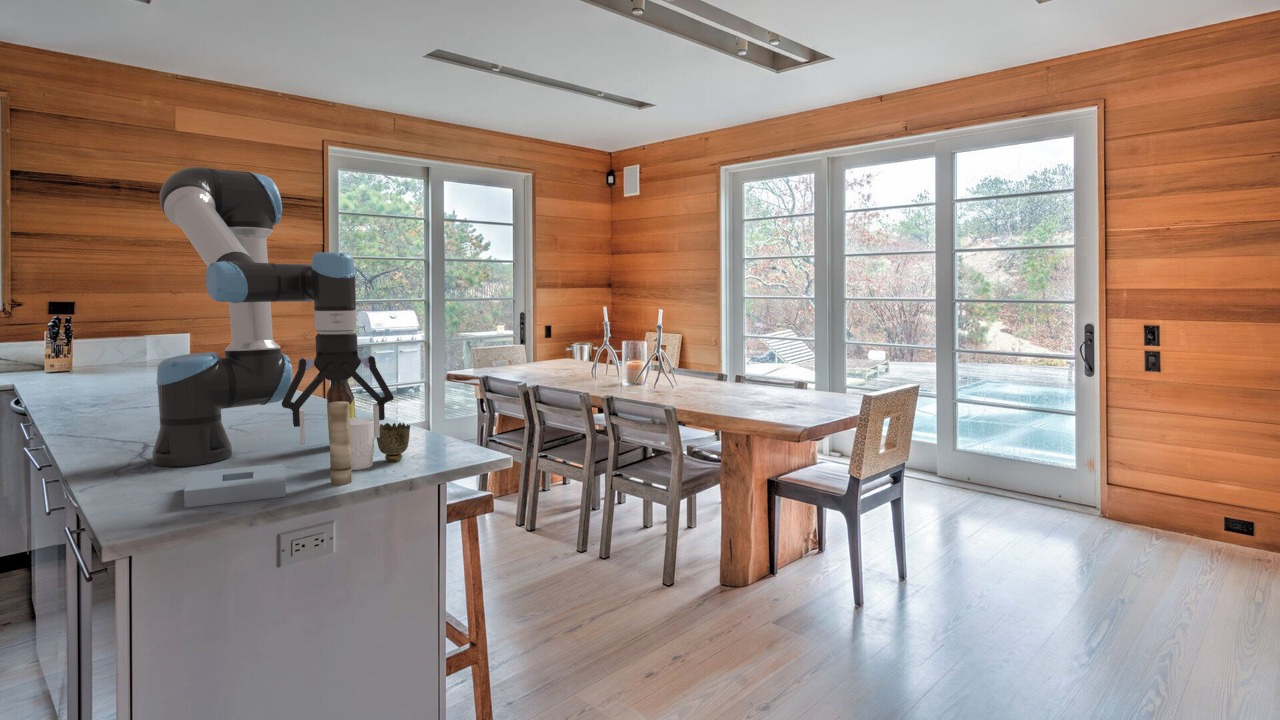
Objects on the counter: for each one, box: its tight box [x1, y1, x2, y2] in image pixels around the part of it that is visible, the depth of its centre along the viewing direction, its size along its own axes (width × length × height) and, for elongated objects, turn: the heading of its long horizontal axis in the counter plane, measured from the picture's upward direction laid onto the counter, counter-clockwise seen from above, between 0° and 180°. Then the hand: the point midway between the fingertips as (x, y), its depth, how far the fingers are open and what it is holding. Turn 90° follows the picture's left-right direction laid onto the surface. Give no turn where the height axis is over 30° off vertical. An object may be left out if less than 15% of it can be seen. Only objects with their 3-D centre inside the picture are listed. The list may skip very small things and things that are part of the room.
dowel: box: [328, 402, 353, 486], centre depth 143 cm, size 4×4×16 cm
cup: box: [376, 422, 411, 463], centre depth 161 cm, size 8×7×8 cm
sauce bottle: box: [326, 379, 356, 442], centre depth 174 cm, size 7×6×20 cm
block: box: [183, 463, 287, 509], centre depth 136 cm, size 14×16×3 cm
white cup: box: [350, 417, 375, 471], centre depth 156 cm, size 8×8×10 cm
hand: (340, 439), depth 143 cm, fingers open, 13 cm apart
